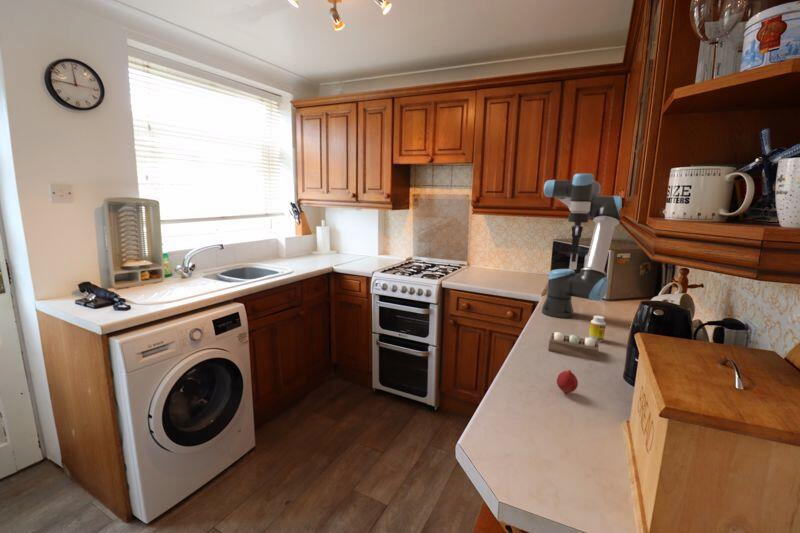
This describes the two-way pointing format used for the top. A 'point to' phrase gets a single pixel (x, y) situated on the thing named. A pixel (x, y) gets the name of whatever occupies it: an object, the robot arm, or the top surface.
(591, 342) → the white egg
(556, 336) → the cream egg
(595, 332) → the supplement bottle
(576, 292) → the robot arm
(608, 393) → the top surface
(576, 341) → the pale green egg
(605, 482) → the top surface
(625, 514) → the top surface
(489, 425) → the top surface
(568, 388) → the onion
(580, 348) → the socket block
